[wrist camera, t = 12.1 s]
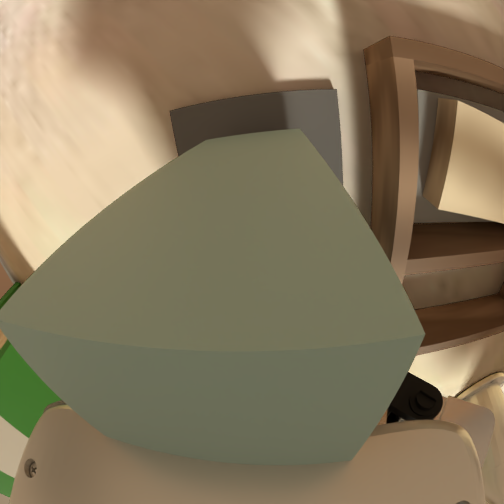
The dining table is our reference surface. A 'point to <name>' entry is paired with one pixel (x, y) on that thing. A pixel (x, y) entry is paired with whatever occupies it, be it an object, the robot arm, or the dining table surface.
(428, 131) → the offcut lower
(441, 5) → the dining table surface
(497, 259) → the rack
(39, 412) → the hardback book
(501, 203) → the offcut upper
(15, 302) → the pale green square slab
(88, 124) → the dining table surface
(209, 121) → the mat
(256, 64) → the dining table surface
